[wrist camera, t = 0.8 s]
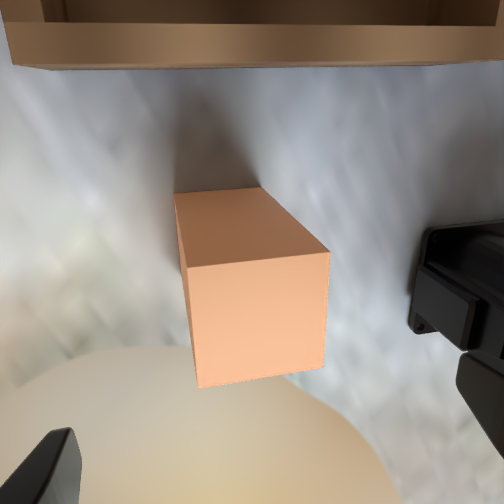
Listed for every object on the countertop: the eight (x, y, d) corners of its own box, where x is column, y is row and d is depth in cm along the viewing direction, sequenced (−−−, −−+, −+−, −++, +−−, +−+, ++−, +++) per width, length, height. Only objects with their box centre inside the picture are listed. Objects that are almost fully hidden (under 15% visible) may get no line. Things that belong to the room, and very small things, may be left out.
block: (261, 186, 18) (330, 252, 11) (262, 265, 20) (323, 367, 13) (173, 193, 18) (187, 268, 10) (181, 274, 19) (198, 388, 12)
